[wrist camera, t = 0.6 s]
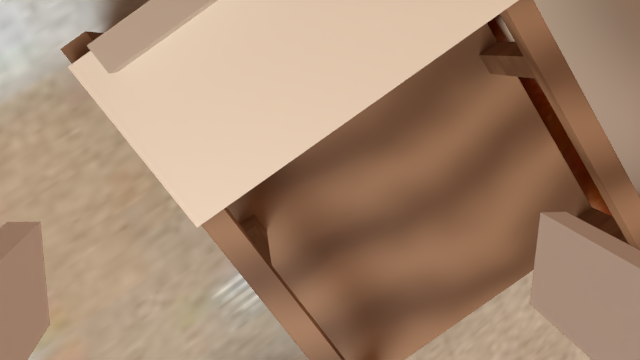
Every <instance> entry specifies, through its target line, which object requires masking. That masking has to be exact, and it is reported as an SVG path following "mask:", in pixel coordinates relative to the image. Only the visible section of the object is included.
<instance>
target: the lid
mask: <svg viewBox="0 0 640 360" xmlns="http://www.w3.org/2000/svg"><path fill="white" fill-rule="evenodd" d="M517 1H518V0H149V1H148V2H147V3H145V4H144V5H142V6H141V7H140V8H138V9H137V10H135V11H134V12H133V13H131V14H130V15H128V16H127V17H126V18H124V19H123V20H121V21H120V22H119V23H117V24H116V25H115V26H113V27H112V28H110V29H109V30H108V31H106V32H105V33H103V34H102V35H101V36H99V37H98V38H96V39H95V40H94V41H92V42H91V43H89V44H88V45H87V47H88V48H89V49H90V50H91V51H89V52H88V53H87V54H85V55H84V56H82V57H81V58H80V59H78V60H77V61H75V62H74V63H73V64H71V65H70V66H69V67H68V68H69V69H70V70H71V72H72V73H73V74H74V75H75V77H76V78H77V79H78V80H79V82H80V83H81V84H82V85H83V87H84V88H85V89H86V90H87V92H88V93H89V94H90V95H91V97H92V98H93V99H94V100H95V101H96V103H97V104H98V105H99V106H100V108H101V109H102V110H103V111H104V113H105V114H106V115H107V116H108V118H109V119H110V120H111V121H112V123H113V124H114V125H115V126H116V128H117V129H118V130H119V131H120V133H121V134H122V135H123V136H124V138H125V139H126V140H127V141H128V142H129V144H130V145H131V146H132V147H133V149H134V150H135V151H136V152H137V154H138V155H139V156H140V157H141V159H142V160H143V161H144V162H145V164H146V165H147V166H148V167H149V169H150V170H151V171H152V172H153V174H154V175H155V176H156V177H157V179H158V180H159V181H160V182H161V183H162V185H163V186H164V187H165V188H166V190H167V191H168V192H169V193H170V195H171V196H172V197H173V198H174V200H175V201H176V202H177V203H178V205H179V206H180V207H181V208H182V210H183V211H184V212H185V213H186V215H187V216H188V217H189V218H190V219H191V221H192V222H193V223H194V224H195V226H196V227H199V226H200V225H202V224H203V223H204V222H206V221H207V220H209V219H210V218H212V217H213V216H214V215H216V214H217V213H219V212H220V211H221V210H223V209H224V208H226V207H227V206H229V205H230V204H231V203H233V202H234V201H236V200H237V199H238V198H240V197H241V196H243V195H244V194H245V193H247V192H248V191H250V190H251V189H253V188H254V187H255V186H257V185H258V184H260V183H261V182H262V181H264V180H265V179H267V178H268V177H270V176H271V175H272V174H274V173H275V172H277V171H278V170H279V169H281V168H282V167H284V166H285V165H286V164H288V163H289V162H291V161H292V160H294V159H295V158H296V157H298V156H299V155H301V154H302V153H303V152H305V151H306V150H308V149H309V148H311V147H312V146H313V145H315V144H316V143H318V142H319V141H320V140H322V139H323V138H325V137H326V136H327V135H329V134H330V133H332V132H333V131H335V130H336V129H337V128H339V127H340V126H342V125H343V124H344V123H346V122H347V121H349V120H350V119H352V118H353V117H354V116H356V115H357V114H359V113H360V112H361V111H363V110H364V109H366V108H367V107H368V106H370V105H371V104H373V103H374V102H376V101H377V100H378V99H380V98H381V97H383V96H384V95H385V94H387V93H388V92H390V91H391V90H393V89H394V88H395V87H397V86H398V85H400V84H401V83H402V82H404V81H405V80H407V79H408V78H409V77H411V76H412V75H414V74H415V73H417V72H418V71H419V70H421V69H422V68H424V67H425V66H426V65H428V64H429V63H431V62H432V61H434V60H435V59H436V58H438V57H439V56H441V55H442V54H443V53H445V52H446V51H448V50H449V49H450V48H452V47H453V46H455V45H456V44H458V43H459V42H460V41H462V40H463V39H465V38H466V37H467V36H469V35H470V34H472V33H473V32H475V31H476V30H477V29H479V28H480V27H482V26H483V25H484V24H486V23H487V22H489V21H490V20H491V19H493V18H494V17H496V16H497V15H499V14H500V13H501V12H503V11H504V10H506V9H507V8H508V7H510V6H511V5H513V4H514V3H516V2H517Z"/></svg>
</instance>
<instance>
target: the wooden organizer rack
mask: <svg viewBox="0 0 640 360" xmlns="http://www.w3.org/2000/svg"><path fill="white" fill-rule="evenodd" d="M500 15H501V17H502V18H503V20H504V22H505V24H506V26H507V27H508V29H509V31H510V33H511V35H512V36H513V38H514V40H515V42H497V40H496V38H495V36H494V35H493V33H492V31H491V29H490V28H489V26H488V24H487V23H486V24H484V25H483V26H482V27H480V28H479V29H477V30H476V31H475V32H473V33H472V34H470V35H469V36H467V37H466V38H465V39H463V40H462V41H460V42H459V43H458V44H456V45H455V46H453V47H452V48H450V49H449V50H448V51H446V52H445V53H443V54H442V55H441V56H439V57H438V58H436V59H435V60H434V61H432V62H431V63H429V64H428V65H426V66H425V67H424V68H422V69H421V70H419V71H418V72H417V73H415V74H414V75H412V76H411V77H409V78H408V79H407V80H405V81H404V82H402V83H401V84H400V85H398V86H397V87H395V88H394V89H393V90H391V91H390V92H388V93H387V94H385V95H384V96H383V97H381V98H380V99H378V100H377V101H376V102H374V103H373V104H371V105H370V106H368V107H367V108H366V109H364V110H363V111H361V112H360V113H359V114H357V115H356V116H354V117H353V118H352V119H350V120H349V121H347V122H346V123H344V124H343V125H342V126H340V127H339V128H337V129H336V130H335V131H333V132H332V133H330V134H329V135H327V136H326V137H325V138H323V139H322V140H320V141H319V142H318V143H316V144H315V145H313V146H312V147H311V148H309V149H308V150H306V151H305V152H303V153H302V154H301V155H299V156H298V157H296V158H295V159H294V160H292V161H291V162H289V163H288V164H286V165H285V166H284V167H282V168H281V169H279V170H278V171H277V172H275V173H274V174H272V175H271V176H270V177H268V178H267V179H265V180H264V181H262V182H261V183H260V184H258V185H257V186H255V187H254V188H253V189H251V190H250V191H248V192H247V193H245V194H244V195H243V196H241V197H240V198H238V199H237V200H236V201H234V202H233V203H231V204H230V205H229V206H227V207H226V208H224V209H223V210H221V211H220V212H219V213H217V214H216V215H214V216H213V217H212V218H210V219H209V220H207V221H206V222H204V223H203V224H202V226H203V228H204V229H205V230H206V231H207V233H208V234H209V235H210V236H211V238H212V239H213V240H214V241H215V243H216V244H217V245H218V246H219V248H220V249H221V250H222V251H223V253H224V254H225V255H226V256H227V258H228V259H229V260H230V261H231V263H232V264H233V265H234V266H235V268H236V269H237V270H238V271H239V273H240V274H241V275H242V276H243V278H244V279H245V280H246V281H247V283H248V284H249V285H250V286H251V288H252V289H253V290H254V291H255V293H256V294H257V295H258V296H259V298H260V299H261V300H262V301H263V303H264V304H265V305H266V306H267V308H268V309H269V310H270V311H271V313H272V314H273V315H274V316H275V318H276V319H277V320H278V321H279V323H280V324H281V325H282V326H283V328H284V329H285V330H286V331H287V332H288V334H289V335H290V336H291V337H292V339H293V340H294V341H295V342H296V344H297V345H298V346H299V347H300V349H301V350H302V351H303V352H304V354H305V355H306V356H307V357H308V359H309V360H404V359H406V358H407V357H409V356H410V355H412V354H413V353H414V352H416V351H417V350H419V349H420V348H422V347H423V346H424V345H426V344H427V343H429V342H430V341H432V340H433V339H435V338H436V337H437V336H439V335H440V334H442V333H443V332H445V331H446V330H447V329H449V328H450V327H452V326H453V325H455V324H456V323H458V322H459V321H460V320H462V319H463V318H465V317H466V316H468V315H469V314H471V313H472V312H473V311H475V310H476V309H478V308H479V307H481V306H482V305H483V304H485V303H486V302H488V301H489V300H491V299H492V298H494V297H495V296H496V295H498V294H499V293H501V292H502V291H504V290H505V289H506V288H508V287H509V286H511V285H512V284H514V283H515V282H517V281H518V280H519V279H521V278H522V277H524V276H525V275H527V274H528V273H529V272H531V271H532V270H534V263H535V254H536V246H537V238H538V229H539V221H540V213H541V212H567V213H569V214H571V215H573V216H575V217H577V218H579V219H581V220H583V221H584V222H586V223H588V224H590V225H592V226H594V227H596V228H598V229H600V230H602V231H604V232H606V233H607V234H609V235H611V236H613V237H615V238H617V239H619V240H621V241H623V242H625V243H627V244H628V245H630V246H632V247H634V248H636V249H638V250H640V198H639V196H638V194H637V192H636V190H635V188H634V186H633V185H632V183H631V181H630V179H629V177H628V175H627V174H626V172H625V170H624V168H623V166H622V164H621V162H620V161H619V159H618V157H617V155H616V153H615V151H614V149H613V147H612V146H611V144H610V142H609V140H608V138H607V136H606V134H605V133H604V131H603V129H602V127H601V125H600V123H599V121H598V120H597V118H596V116H595V114H594V112H593V110H592V108H591V107H590V105H589V103H588V101H587V99H586V97H585V96H584V94H583V92H582V90H581V88H580V86H579V84H578V83H577V81H576V79H575V77H574V75H573V73H572V71H571V70H570V68H569V66H568V64H567V62H566V60H565V58H564V57H563V55H562V53H561V51H560V49H559V47H558V45H557V43H556V42H555V40H554V38H553V36H552V34H551V32H550V31H549V29H548V27H547V25H546V23H545V21H544V19H543V17H542V16H541V14H540V12H539V10H538V8H537V7H536V4H535V3H534V1H533V0H518V1H517V2H516V3H514V4H513V5H511V6H510V7H508V8H507V9H506V10H504V11H503V12H501V13H500ZM102 34H103V33H95V32H86V31H85V32H84V33H82V34H81V35H80V36H78V37H77V38H75V39H74V40H73V41H71V42H70V43H68V44H67V45H66V46H64V47H63V48H62V49H61V50H62V52H63V53H64V54H65V55H66V57H67V58H68V59H69V60H70V62H71V63H72V64H73V63H74V62H75V61H77V60H78V59H80V58H81V57H82V56H84V55H85V54H87V53H88V52H89V51H91V50H90V49H89V48H88V47H87V45H88V44H89V43H91V42H92V41H94V40H95V39H96V38H98V37H99V36H101V35H102ZM518 77H524V78H534V79H537V81H538V83H539V85H540V86H541V88H542V90H543V92H544V94H545V95H546V97H547V99H548V101H549V102H550V104H551V106H552V108H553V110H554V111H555V113H556V115H557V117H558V119H559V120H560V122H561V124H562V126H563V127H564V129H565V131H566V133H567V135H568V136H569V138H570V140H571V142H572V144H573V145H574V147H575V149H576V151H577V153H578V154H579V156H580V158H581V160H582V161H583V163H584V165H585V167H586V169H587V170H588V172H589V174H590V176H591V178H592V179H593V181H594V183H595V185H596V186H597V188H598V190H599V192H600V194H601V195H602V197H603V199H604V201H605V203H606V204H607V206H608V208H609V210H610V212H611V213H612V215H613V217H612V216H610V215H608V214H605V213H603V212H601V211H599V210H597V209H594V208H592V207H591V205H590V203H589V202H588V200H587V198H586V196H585V195H584V193H583V191H582V189H581V188H580V186H579V184H578V182H577V181H576V179H575V177H574V175H573V174H572V172H571V170H570V168H569V167H568V165H567V163H566V161H565V160H564V158H563V156H562V154H561V152H560V151H559V149H558V147H557V145H556V144H555V142H554V140H553V138H552V137H551V135H550V133H549V131H548V130H547V128H546V126H545V124H544V123H543V121H542V119H541V117H540V116H539V114H538V112H537V110H536V109H535V107H534V105H533V103H532V101H531V100H530V98H529V96H528V94H527V93H526V91H525V89H524V87H523V86H522V84H521V82H520V80H519V79H518Z"/></svg>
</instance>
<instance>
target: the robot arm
mask: <svg viewBox="0 0 640 360" xmlns="http://www.w3.org/2000/svg"><path fill="white" fill-rule="evenodd" d="M530 305H532V306H533V307H534V308H535V309H536V310H537V311H538V312H539V313H540V314H542V315H543V316H544V317H545V318H546V319H547V320H548V321H549V322H551V323H552V324H553V325H554V326H555V327H556V328H557V329H558V330H559V331H561V332H562V333H563V334H564V335H565V336H566V337H567V338H568V339H569V340H571V341H572V342H573V343H574V344H575V345H576V346H577V347H578V348H580V349H581V350H582V351H583V352H584V353H585V354H586V355H587V356H588V357H590V358H591V359H592V360H640V250H638V249H636V248H634V247H632V246H630V245H628V244H627V243H625V242H623V241H621V240H619V239H617V238H615V237H613V236H611V235H609V234H607V233H606V232H604V231H602V230H600V229H598V228H596V227H594V226H592V225H590V224H588V223H586V222H584V221H583V220H581V219H579V218H577V217H575V216H573V215H571V214H569V213H567V212H541V213H540V221H539V229H538V238H537V246H536V254H535V263H534V271H533V279H532V288H531V296H530ZM49 325H50V320H49V309H48V299H47V288H46V277H45V266H44V255H43V244H42V234H41V223H40V222H7V223H6V224H4V225H3V226H2V227H1V228H0V360H27V359H28V358H29V356H30V355H31V353H32V352H33V350H34V349H35V347H36V345H37V344H38V342H39V341H40V339H41V338H42V336H43V334H44V333H45V331H46V330H47V328H48V327H49Z"/></svg>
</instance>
